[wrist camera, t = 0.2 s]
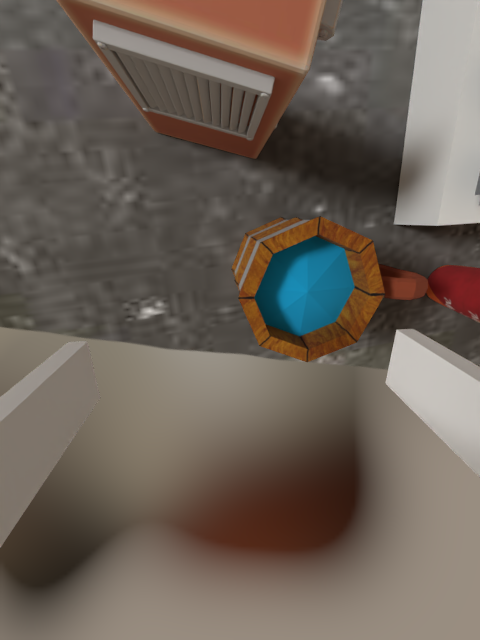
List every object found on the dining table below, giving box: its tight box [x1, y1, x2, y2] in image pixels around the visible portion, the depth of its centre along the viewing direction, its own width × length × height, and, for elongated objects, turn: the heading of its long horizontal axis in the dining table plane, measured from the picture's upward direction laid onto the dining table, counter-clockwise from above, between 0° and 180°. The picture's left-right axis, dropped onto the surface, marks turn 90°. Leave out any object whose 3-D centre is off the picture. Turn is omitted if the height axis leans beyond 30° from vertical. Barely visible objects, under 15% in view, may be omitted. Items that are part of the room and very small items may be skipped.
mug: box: [232, 216, 428, 362], centre depth 32 cm, size 20×14×15 cm
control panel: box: [57, 0, 343, 159], centre depth 22 cm, size 21×7×15 cm
